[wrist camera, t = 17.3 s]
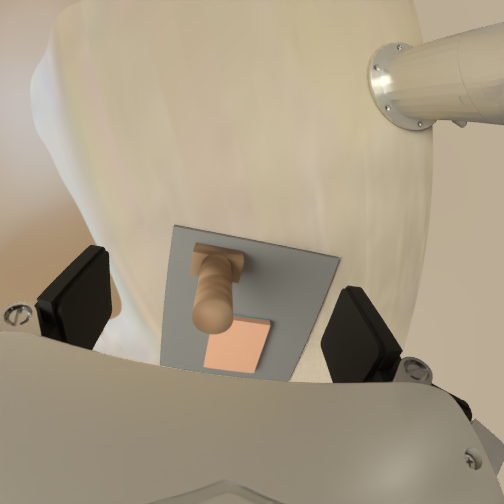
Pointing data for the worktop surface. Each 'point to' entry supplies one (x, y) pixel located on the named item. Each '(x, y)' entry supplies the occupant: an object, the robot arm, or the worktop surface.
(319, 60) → the worktop surface
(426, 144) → the worktop surface
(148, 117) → the worktop surface
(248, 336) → the tile
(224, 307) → the wooden rubber stamp
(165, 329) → the mat
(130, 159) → the worktop surface
